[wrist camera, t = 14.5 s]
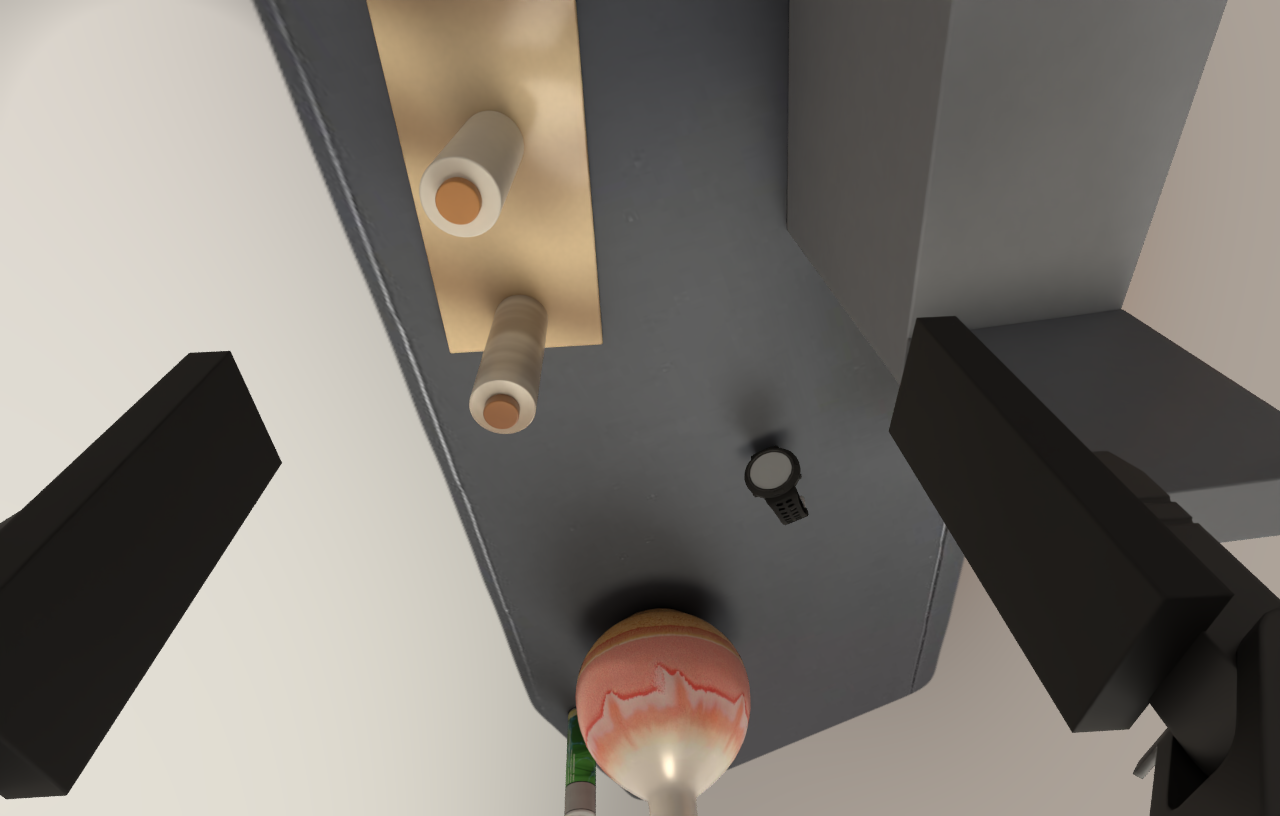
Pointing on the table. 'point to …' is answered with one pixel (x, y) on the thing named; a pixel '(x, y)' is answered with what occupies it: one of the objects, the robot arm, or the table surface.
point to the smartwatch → (777, 482)
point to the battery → (579, 773)
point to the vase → (663, 707)
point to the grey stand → (1023, 213)
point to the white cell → (472, 175)
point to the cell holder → (537, 200)
